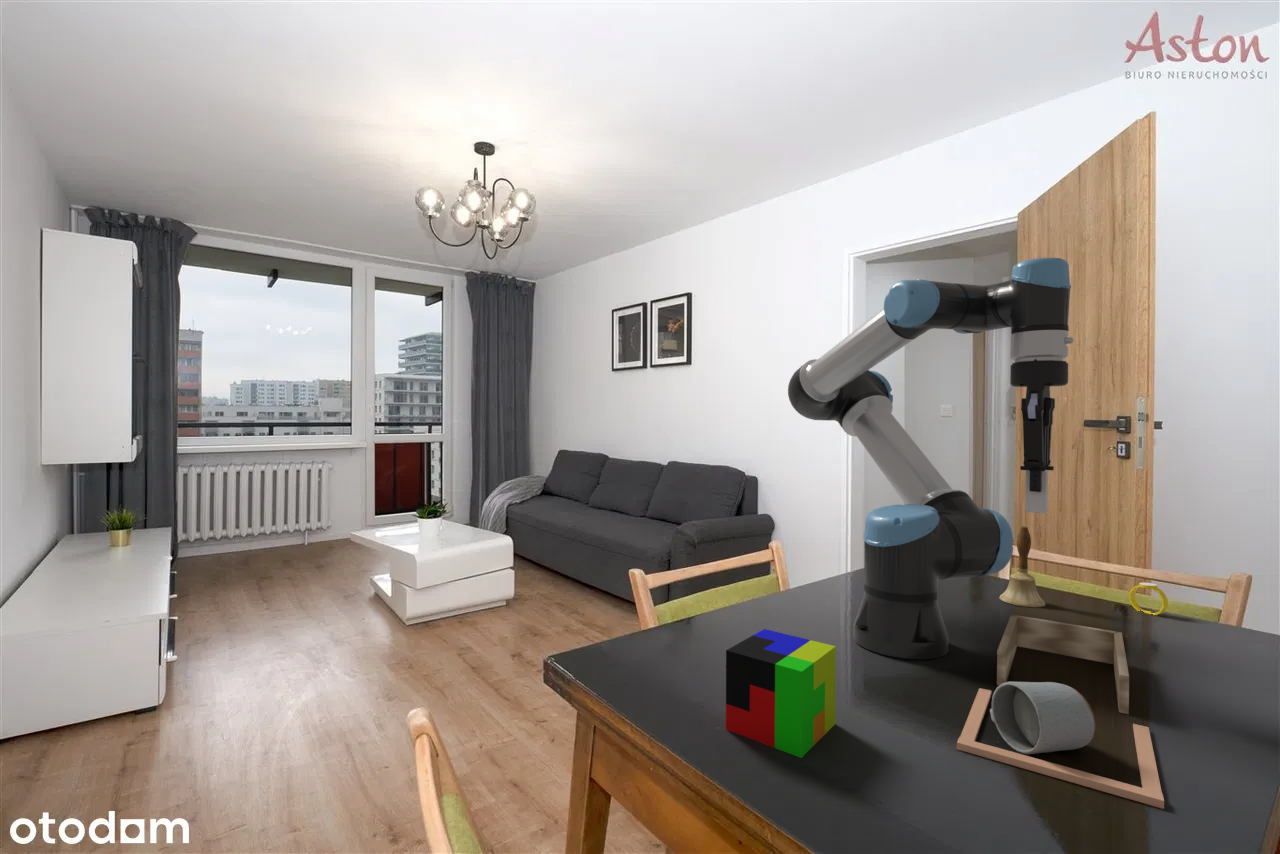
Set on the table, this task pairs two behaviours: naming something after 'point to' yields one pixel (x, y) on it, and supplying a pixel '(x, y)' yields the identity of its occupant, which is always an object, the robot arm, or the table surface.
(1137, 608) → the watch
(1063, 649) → the frame
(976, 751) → the terracotta bay
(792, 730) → the puzzle toy
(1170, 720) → the table surface
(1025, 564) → the hand bell
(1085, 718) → the ceramic mug
